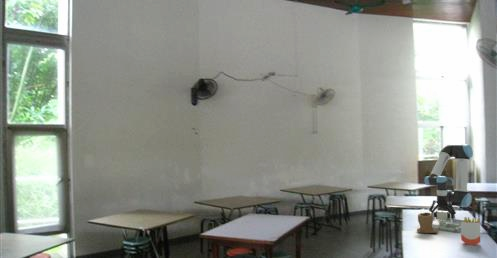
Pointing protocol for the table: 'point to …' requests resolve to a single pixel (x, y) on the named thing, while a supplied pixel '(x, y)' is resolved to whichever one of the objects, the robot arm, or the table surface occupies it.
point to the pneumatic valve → (442, 216)
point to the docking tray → (450, 228)
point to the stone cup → (426, 223)
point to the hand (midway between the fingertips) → (442, 221)
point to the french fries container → (470, 231)
